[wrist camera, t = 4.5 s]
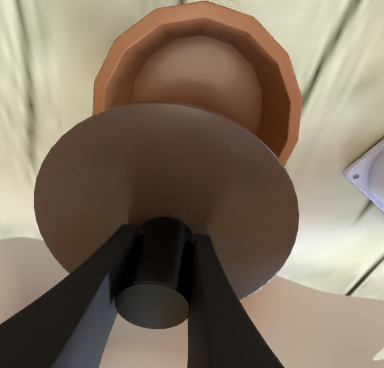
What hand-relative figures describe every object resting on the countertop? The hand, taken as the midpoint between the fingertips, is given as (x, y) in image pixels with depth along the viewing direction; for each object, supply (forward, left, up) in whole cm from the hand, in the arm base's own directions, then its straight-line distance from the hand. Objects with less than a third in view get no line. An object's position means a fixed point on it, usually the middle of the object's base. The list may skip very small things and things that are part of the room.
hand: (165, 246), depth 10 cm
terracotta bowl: (+1, -4, -10) cm, 11 cm away
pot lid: (0, 0, -1) cm, 1 cm away
